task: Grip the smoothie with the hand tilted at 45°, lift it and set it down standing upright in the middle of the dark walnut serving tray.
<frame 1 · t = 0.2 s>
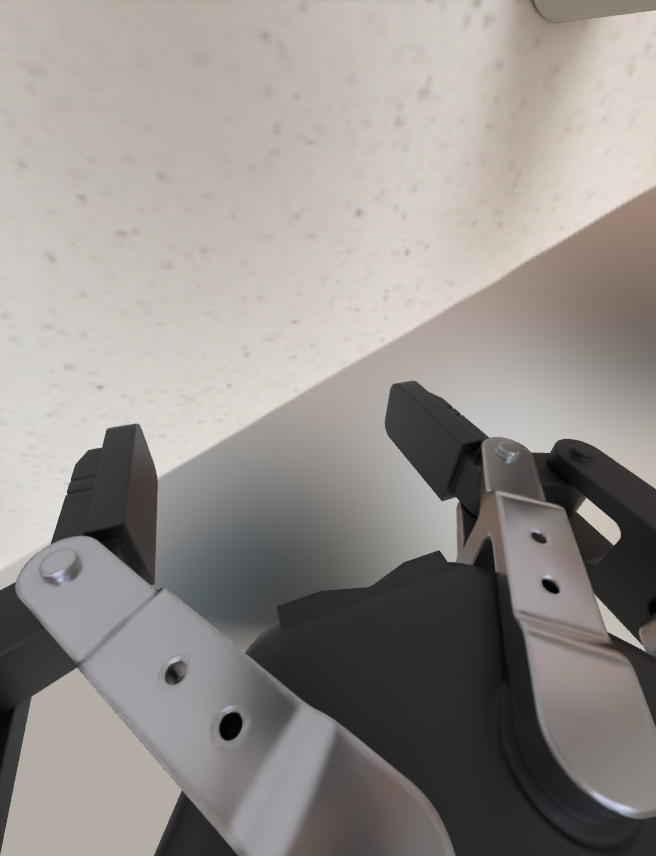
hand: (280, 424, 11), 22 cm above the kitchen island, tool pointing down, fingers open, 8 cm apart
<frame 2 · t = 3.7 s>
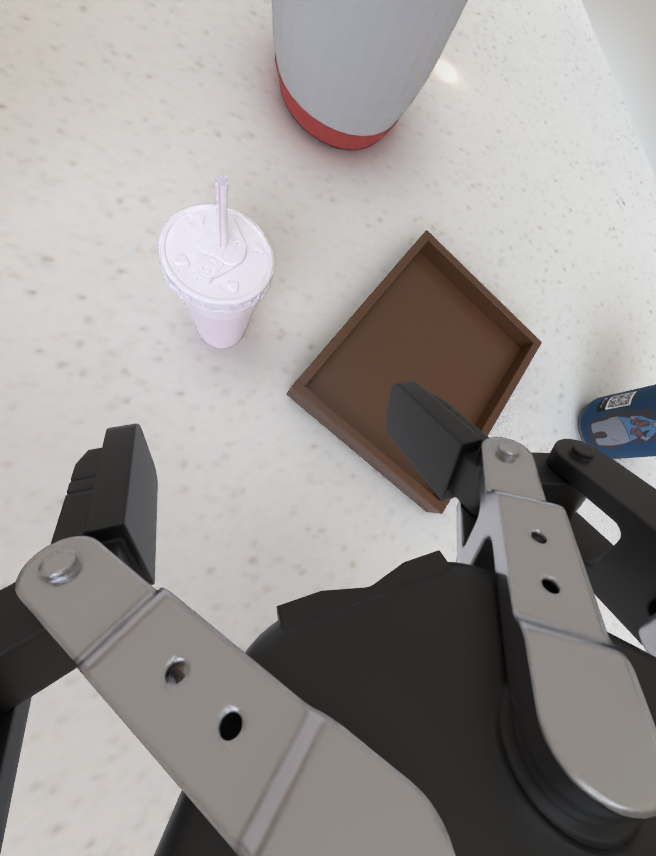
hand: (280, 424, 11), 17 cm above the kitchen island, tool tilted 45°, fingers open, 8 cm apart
citrus juicer: (327, 100, 36), on the kitchen island
soda can: (595, 429, 39), on the kitchen island
smoothie: (221, 328, 29), on the kitchen island
tray: (419, 369, 33), on the kitchen island
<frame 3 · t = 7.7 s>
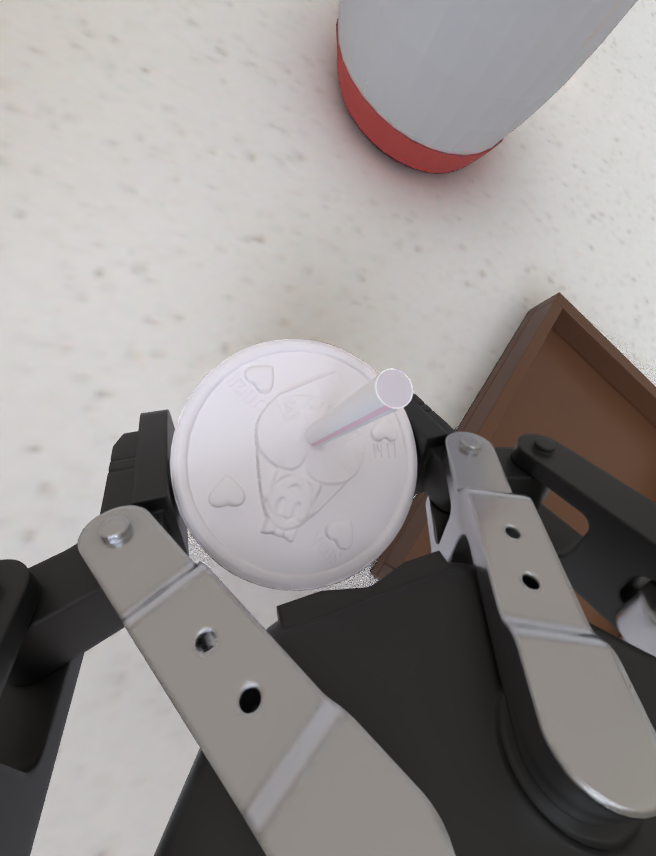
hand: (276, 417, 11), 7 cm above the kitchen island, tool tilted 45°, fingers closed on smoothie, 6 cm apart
citrus juicer: (401, 102, 25), on the kitchen island
smoothie: (265, 473, 18), on the kitchen island, touching gripper
tray: (552, 500, 22), on the kitchen island
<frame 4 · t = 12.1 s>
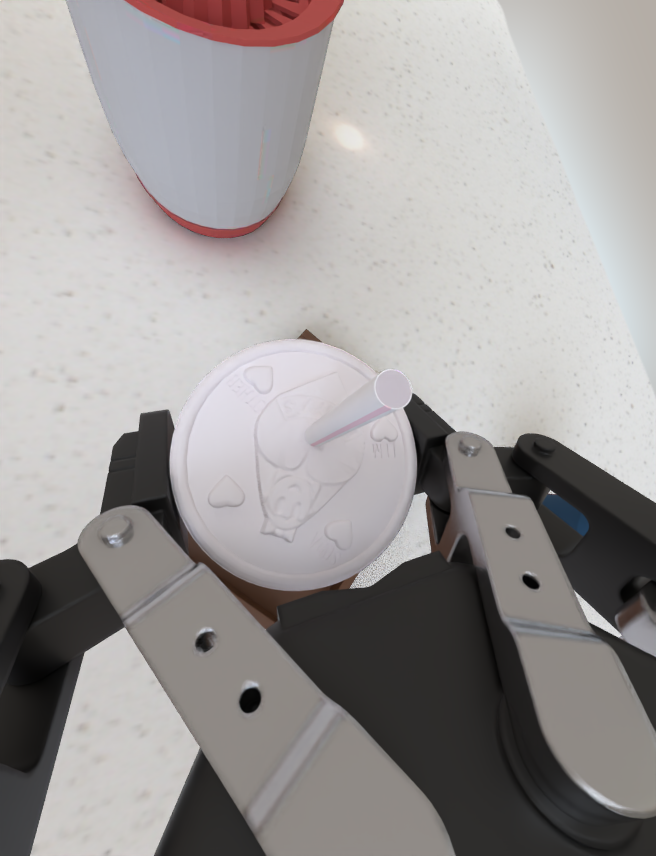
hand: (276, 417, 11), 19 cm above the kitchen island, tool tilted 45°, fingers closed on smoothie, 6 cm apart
citrus juicer: (205, 182, 33), on the kitchen island
soda can: (506, 525, 37), on the kitchen island
smoothie: (265, 473, 18), point 12 cm above the kitchen island, touching gripper
tray: (300, 481, 31), on the kitchen island
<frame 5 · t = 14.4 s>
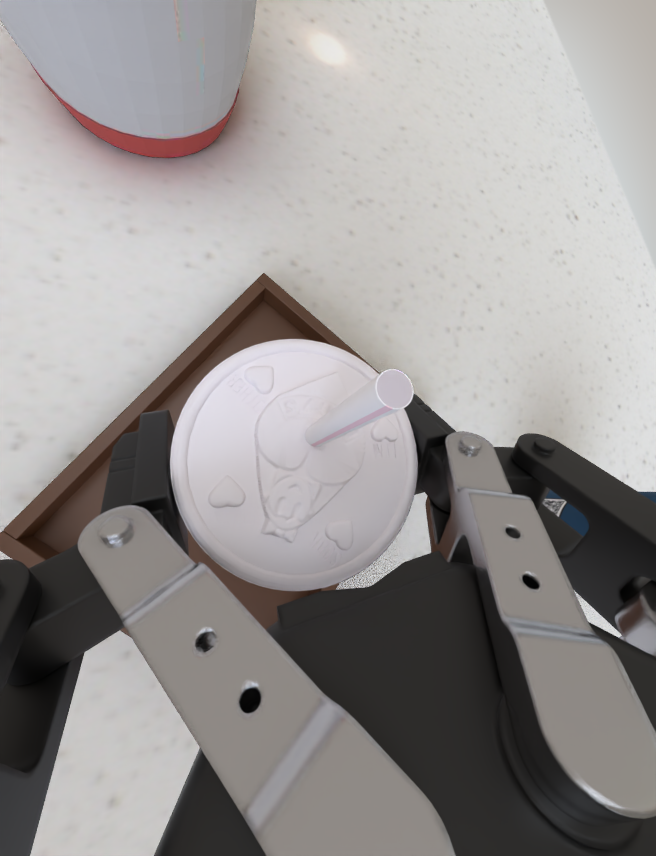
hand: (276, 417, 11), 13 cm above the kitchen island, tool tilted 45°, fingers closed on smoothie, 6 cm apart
citrus juicer: (137, 89, 26), on the kitchen island
soda can: (525, 530, 29), on the kitchen island
smoothie: (265, 473, 18), point 6 cm above the kitchen island, touching gripper
tray: (256, 473, 23), on the kitchen island
when the fingers open (8 cm above the kitchen island, at t = 16.5 s): smoothie stays where it is, resting on tray.
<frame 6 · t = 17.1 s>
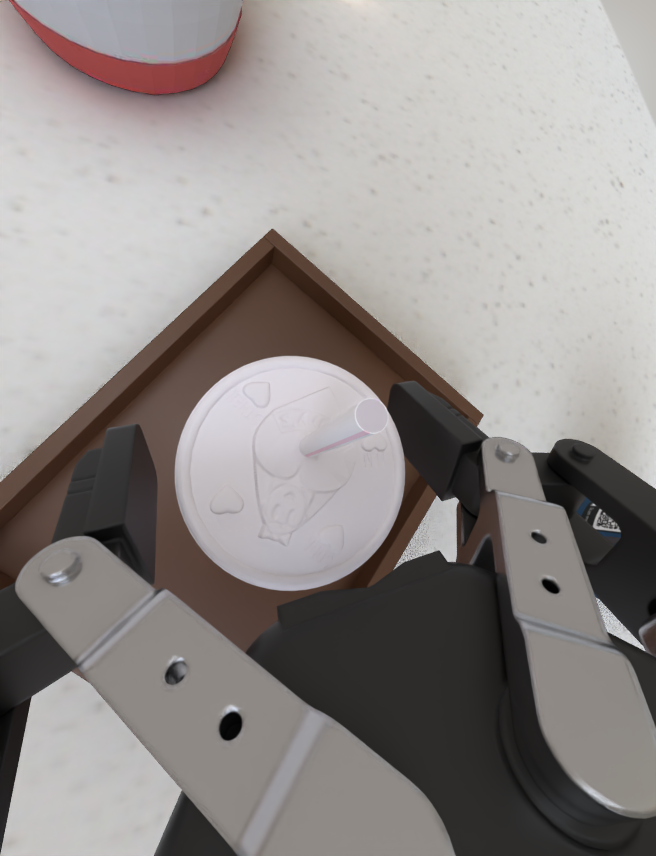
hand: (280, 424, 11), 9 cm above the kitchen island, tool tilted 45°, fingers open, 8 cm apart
citrus juicer: (120, 15, 21), on the kitchen island
soda can: (579, 541, 25), on the kitchen island
smoothie: (264, 476, 18), point 1 cm above the kitchen island, touching tray
tray: (263, 474, 19), on the kitchen island
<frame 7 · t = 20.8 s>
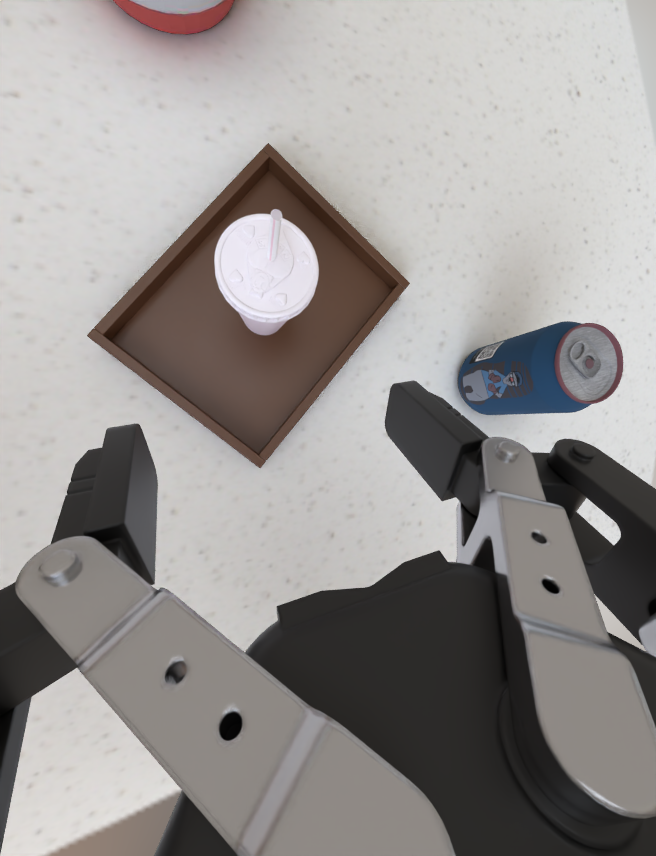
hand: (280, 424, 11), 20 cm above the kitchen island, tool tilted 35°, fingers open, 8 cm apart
soda can: (480, 382, 36), on the kitchen island
smoothie: (263, 315, 30), point 1 cm above the kitchen island, touching tray
tray: (263, 315, 31), on the kitchen island
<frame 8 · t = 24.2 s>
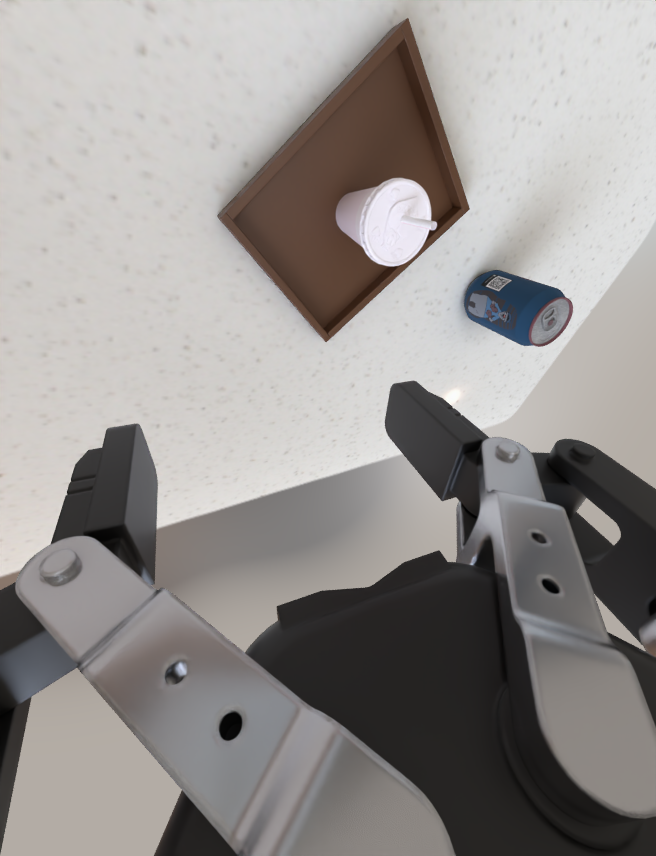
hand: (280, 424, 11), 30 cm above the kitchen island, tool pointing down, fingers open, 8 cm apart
soda can: (479, 294, 48), on the kitchen island
smoothie: (351, 213, 35), point 1 cm above the kitchen island, touching tray
tray: (349, 211, 36), on the kitchen island
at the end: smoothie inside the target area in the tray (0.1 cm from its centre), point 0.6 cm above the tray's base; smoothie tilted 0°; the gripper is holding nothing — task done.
